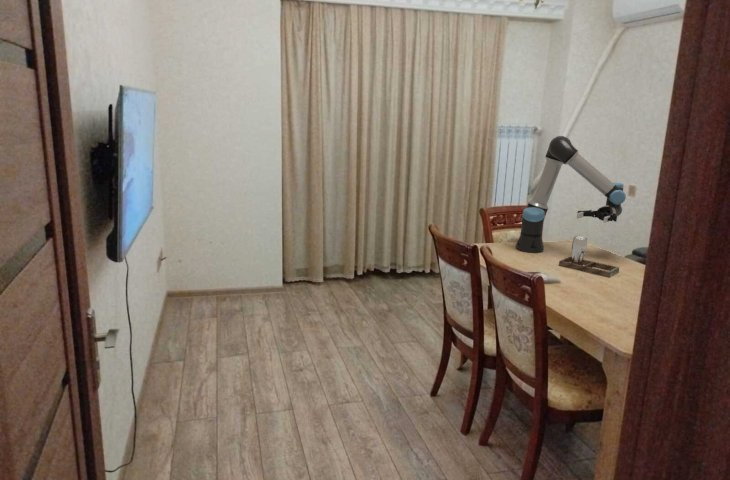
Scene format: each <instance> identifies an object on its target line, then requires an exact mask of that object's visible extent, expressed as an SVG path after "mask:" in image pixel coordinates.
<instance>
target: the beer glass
mask: <svg viewBox="0 0 730 480" xmlns="http://www.w3.org/2000/svg"><path fill="white" fill-rule="evenodd" d="M587 246H588V238H587V237H585V236H581V235H580V236H578V235H577V236H573V237H572V244H571V257H572V261H571V262H570V263H573V264H577V265H582V266H584V265H583V259H584V257H585V254H586V252H587Z"/></svg>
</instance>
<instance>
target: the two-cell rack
mask: <svg viewBox="0 0 730 480" xmlns="http://www.w3.org/2000/svg"><path fill="white" fill-rule="evenodd" d="M571 261H572V256H568V257H565V258H564V259H560V260H559V262H558V266H559V267H562V268H563V267H564V268H568V269H571V270H575V271H580V272H583V273H588V274H592V275H597V276H601V277H605V278H606V277H607V278H610V277H613V276H614V275H617V274H618V273H619V272H620V267H619V266H615V265H610V264H606V263H602V262H601V263H600V262H596V261H593V260H592V261H591V260H587V259H584V258H583V266H582V265H577V264H573V263H571Z"/></svg>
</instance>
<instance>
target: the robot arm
mask: <svg viewBox="0 0 730 480" xmlns="http://www.w3.org/2000/svg"><path fill="white" fill-rule="evenodd" d="M548 145H549V146H548V148H547V151H546V153H545V156H544V157H545V159H546V162H545V164H544V167H543V170H542V173H541V175H540V178H539V181H538V183H537V187H536V189H535V190H534V191H535V192H534V195H533V197H532V199H531V200H530V201H528V203H527V205H526V208H524V209H523V211H522V214H521V216H522V218H521V226H520V235H519V238H518V240H517V242H516V244H515V249H516V250H517V251H520V252H524V253H525V252H526V253H533V254H536V253H543V252H544V249H545V247H544V246H545V245H544V241H543V230H544V222H545V219H546V216H547V213H548V210H549V206H548V203H549V200H550V197H551V195H552V192H553V190H554V187H555V184H556V182H557V178H558V176H559V173H560V171H561V168H562V166H563V165H568V166H570V167H571V169H572V170H574V171H575V172H576V173H578V175H580V176H581V177H582V178H583V179H584V180H585V181H587V182H588V183H589V184H590V185H592V187H594V188H595V189H596V190H597V191H598V192H600V193H601V194H602V195H603V196H604V197H606V200H605V201H606V203H605V205H604V206H600V207H598V209H596V210H592V209H589V210H578V211H577V213H576V219H582V218H584V217H589V218H591V217H592V218H597V219H598V220H600V221H603V224H605V223H608V222H614V223H615V222H617V221H618V217H619V216H620V215H621V214H622V213H623V207H622V204H623V203H624V202H625V200H627V199H626V193H625V191H624V184H623V183H622V182H612V181H611V180H610V179H609V178H608V177H607V176H606V175H604V174H603V173H602V172H601V171H599V170H598V169H597V168H596V167H595V166H594V165H592V164H591V162H589V161H588V160H587V159H585V158H584V157H583V156H582V155H581V154H579V150H578V149H577V148H576V147H575V146H574V144H572V141H571V140H570V139H569V138H568V137H567V136H564V135H558V136H555V137H553V138H552V139H551V140H550V143H549V144H548Z"/></svg>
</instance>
